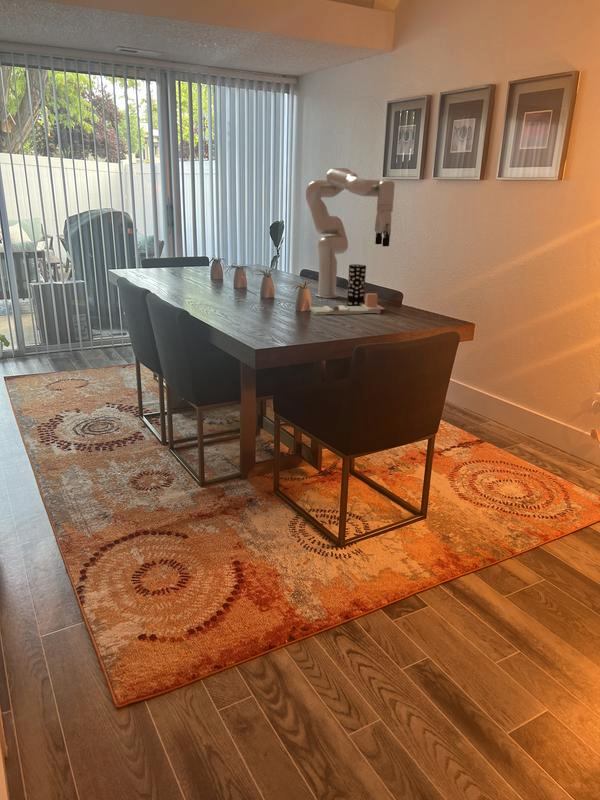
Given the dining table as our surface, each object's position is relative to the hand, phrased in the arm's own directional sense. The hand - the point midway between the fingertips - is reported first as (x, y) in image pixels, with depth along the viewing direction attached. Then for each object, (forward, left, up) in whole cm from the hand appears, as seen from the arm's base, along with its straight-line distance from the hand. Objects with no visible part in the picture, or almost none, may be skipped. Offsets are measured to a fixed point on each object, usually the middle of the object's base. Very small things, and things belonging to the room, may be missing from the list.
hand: (381, 245), depth 292 cm
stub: (+11, -7, -28) cm, 31 cm away
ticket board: (+11, -21, -30) cm, 38 cm away
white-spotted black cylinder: (-3, -11, -30) cm, 32 cm away
